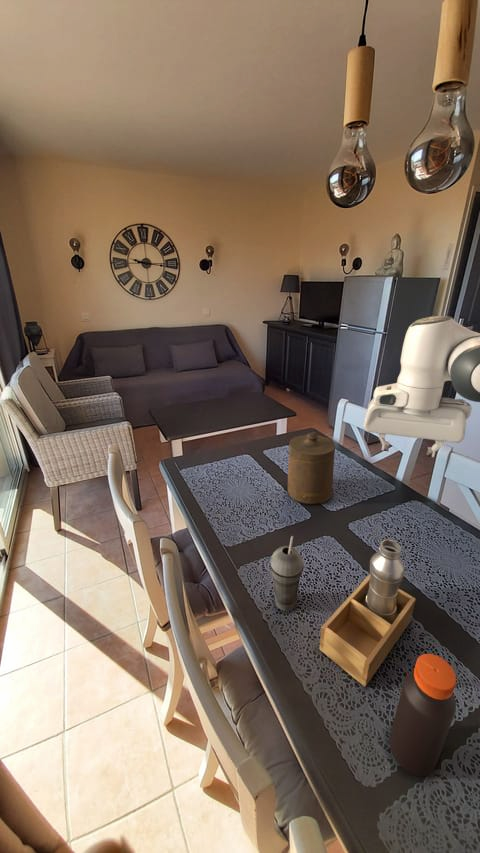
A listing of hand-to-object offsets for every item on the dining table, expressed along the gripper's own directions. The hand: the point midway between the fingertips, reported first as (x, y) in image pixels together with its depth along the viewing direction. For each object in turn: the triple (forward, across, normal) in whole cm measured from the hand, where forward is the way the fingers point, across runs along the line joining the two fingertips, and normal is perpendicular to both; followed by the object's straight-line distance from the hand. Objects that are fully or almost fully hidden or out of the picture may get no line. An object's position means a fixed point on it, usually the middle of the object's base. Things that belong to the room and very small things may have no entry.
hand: (407, 452), depth 82 cm
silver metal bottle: (+30, +2, +20) cm, 37 cm away
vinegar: (+31, -4, +43) cm, 53 cm away
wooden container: (+31, +25, -23) cm, 47 cm away
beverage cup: (+31, +22, +23) cm, 44 cm away
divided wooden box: (+31, +4, +25) cm, 40 cm away
